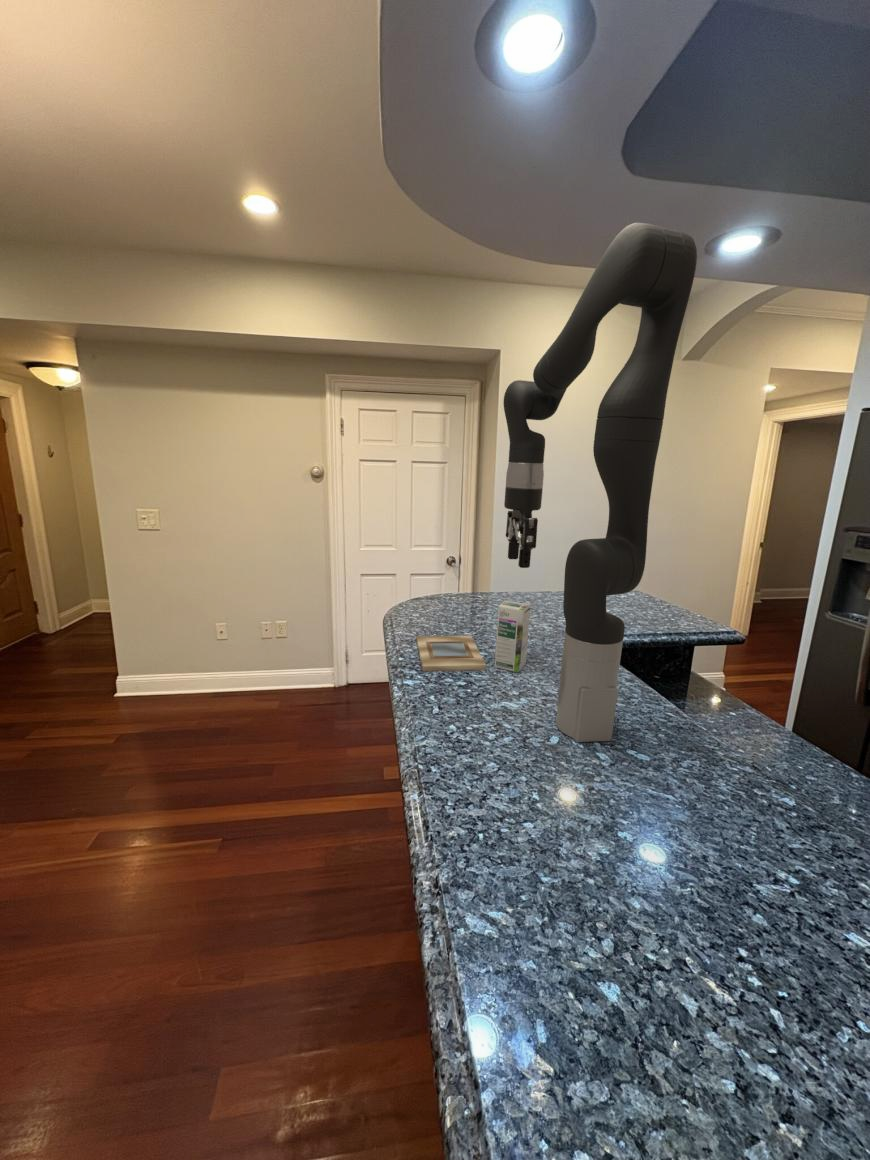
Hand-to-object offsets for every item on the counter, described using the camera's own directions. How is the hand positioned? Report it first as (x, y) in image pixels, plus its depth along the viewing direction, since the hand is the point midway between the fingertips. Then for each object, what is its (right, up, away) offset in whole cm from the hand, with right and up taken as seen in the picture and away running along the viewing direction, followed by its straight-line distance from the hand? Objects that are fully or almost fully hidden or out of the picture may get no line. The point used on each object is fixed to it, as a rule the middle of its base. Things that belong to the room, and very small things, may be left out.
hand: (518, 563), depth 102 cm
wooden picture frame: (-14, -21, +11) cm, 28 cm away
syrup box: (-1, -23, +6) cm, 24 cm away
